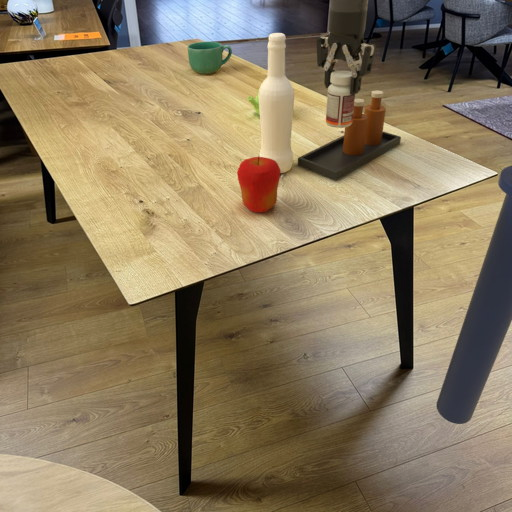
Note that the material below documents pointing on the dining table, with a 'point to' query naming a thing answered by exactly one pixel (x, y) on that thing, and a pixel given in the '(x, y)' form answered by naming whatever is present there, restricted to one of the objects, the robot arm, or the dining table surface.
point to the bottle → (276, 107)
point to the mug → (207, 56)
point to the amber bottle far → (375, 119)
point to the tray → (344, 157)
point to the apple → (259, 183)
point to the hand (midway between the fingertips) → (341, 90)
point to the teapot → (255, 102)
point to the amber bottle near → (356, 131)
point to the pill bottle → (340, 100)
